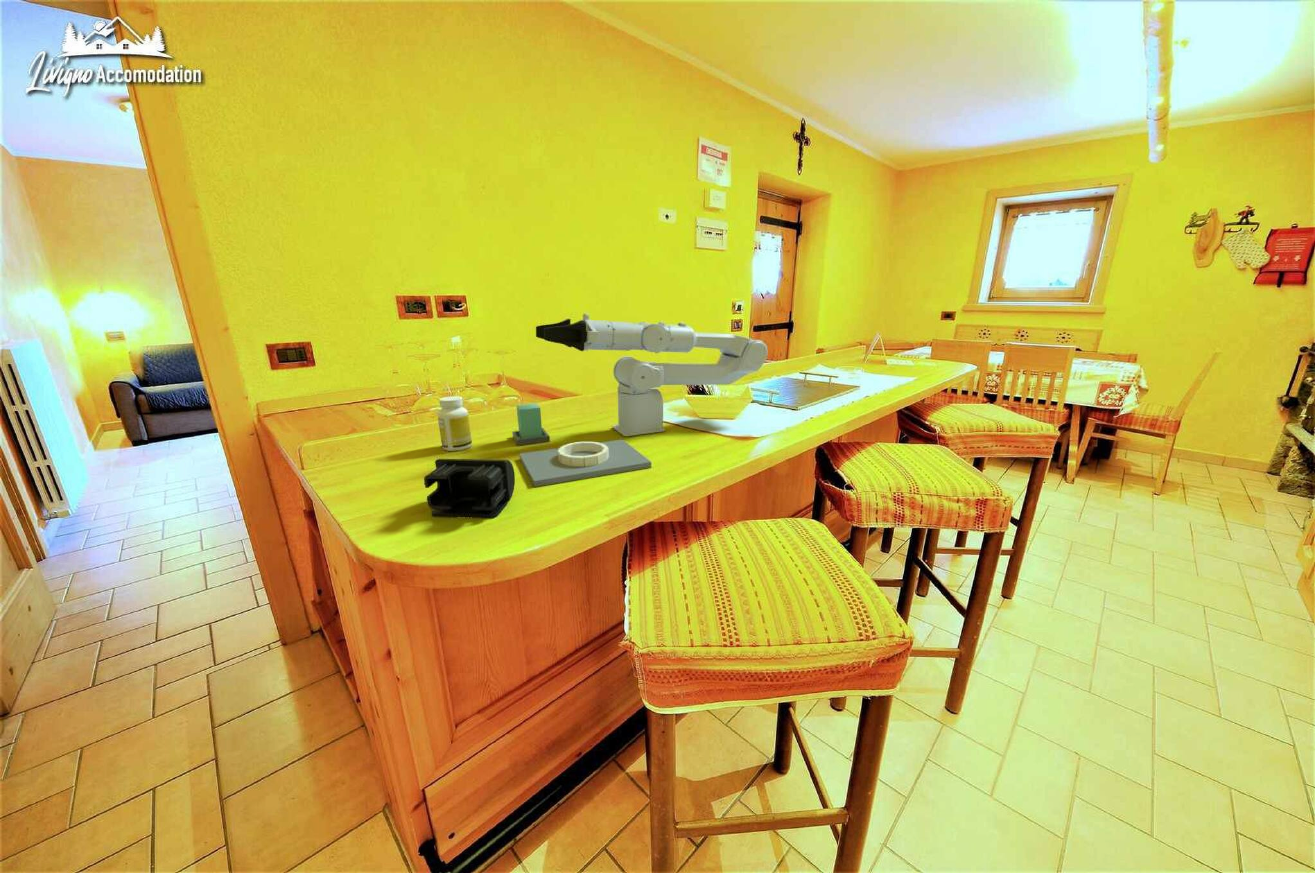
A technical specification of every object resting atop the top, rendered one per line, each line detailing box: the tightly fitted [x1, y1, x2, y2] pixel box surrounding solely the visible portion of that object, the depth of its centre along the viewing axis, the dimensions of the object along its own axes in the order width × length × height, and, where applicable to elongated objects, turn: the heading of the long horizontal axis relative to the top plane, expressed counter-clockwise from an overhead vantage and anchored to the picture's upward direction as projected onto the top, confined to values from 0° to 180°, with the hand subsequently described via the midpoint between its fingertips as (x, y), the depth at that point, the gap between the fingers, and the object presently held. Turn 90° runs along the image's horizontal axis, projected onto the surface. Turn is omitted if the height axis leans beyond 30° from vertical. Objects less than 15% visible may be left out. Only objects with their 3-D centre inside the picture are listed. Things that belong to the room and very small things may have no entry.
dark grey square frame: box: [511, 427, 551, 447], centre depth 94 cm, size 6×6×1 cm
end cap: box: [423, 458, 516, 519], centre depth 63 cm, size 10×7×7 cm
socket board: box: [519, 439, 652, 488], centre depth 80 cm, size 20×14×3 cm
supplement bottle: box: [437, 395, 473, 452], centre depth 88 cm, size 5×5×10 cm
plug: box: [516, 403, 543, 439], centre depth 93 cm, size 4×4×7 cm
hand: (540, 333), depth 86 cm, fingers open, 7 cm apart
